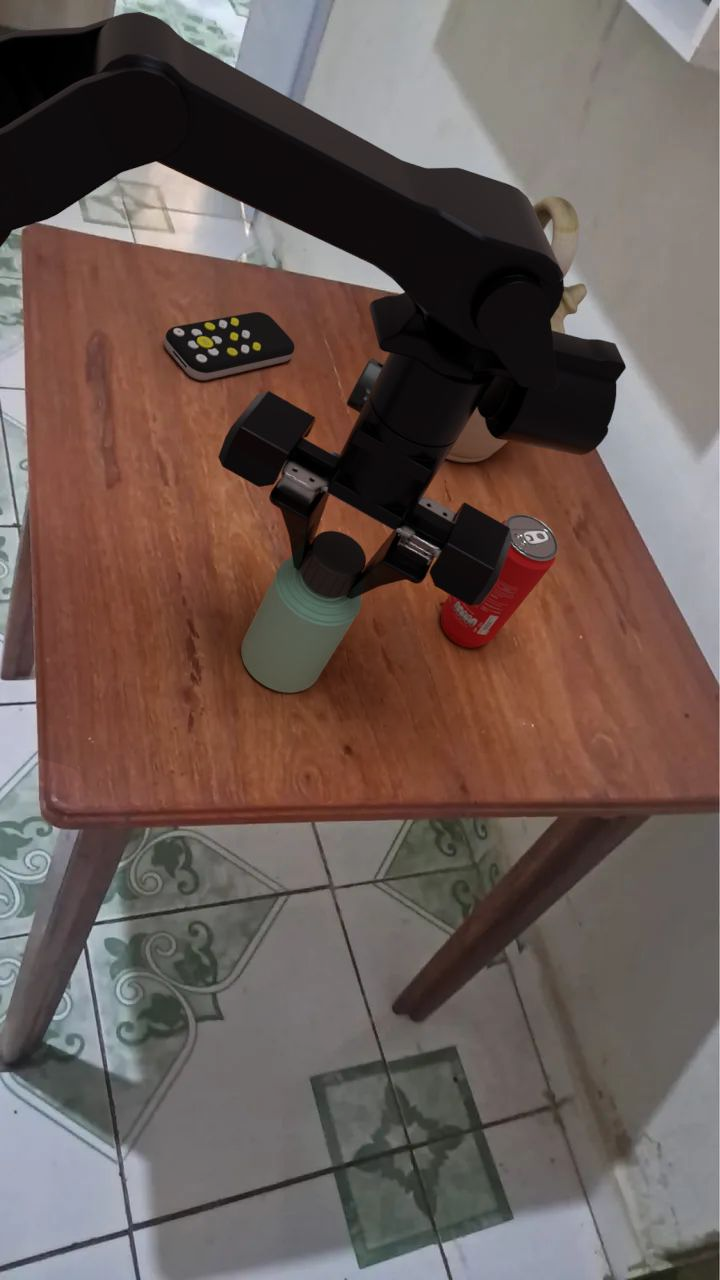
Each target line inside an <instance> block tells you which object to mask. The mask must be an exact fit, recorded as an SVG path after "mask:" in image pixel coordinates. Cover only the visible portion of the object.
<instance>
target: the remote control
mask: <svg viewBox="0 0 720 1280" xmlns="http://www.w3.org/2000/svg"><path fill="white" fill-rule="evenodd" d="M163 344H164V347H165V350H167V352H168V353H169V354H170V355H171V357H172V358H173V359H174V360H175V361H176V363H177V364H178V365H179V366H180V367H181V368H182V370H183V371H184V372H185V373H186V374H187V375H188V376H189V377H190V378H193V379H195V380H198V381H209V380H213V379H218V378H222V377H226V376H231V375H234V374H235V375H236V374H239V373H243V372H247V371H248V372H249V371H253V370H257V369H261V368H265V367H269V366H273V365H278V364H282V363H287V362H288V361H290V360H291V359H292V357H293V354H294V352H295V344H294V341H293V340H292V338H291V337H290V336H289V335H288V334H287V332H285V331H284V329H283V328H282V327H281V326H280V325H279V324H278V323H277V322H276V321H275V320H274V319H273V317H272V316H270V315H269V314H267V313H265V312H261V311H253V312H248V313H243V314H242V313H241V314H236V315H229V316H226V317H220V318H214V319H209V320H203V321H198V322H192V323H188V324H182V325H176V326H172V327H170V328H169V329H168V330H167V331H166V333H165V336H164V343H163Z"/></svg>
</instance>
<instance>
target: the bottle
mask: <svg viewBox="0 0 720 1280" xmlns="http://www.w3.org/2000/svg"><path fill="white" fill-rule="evenodd" d="M361 605H362V594H361V595H359V596H357V597H355V598H353V599H350V598H348V597H347V595H344V596H342V597H338V598H330V597H325V596H322V595H320V594H318V593H316V592H314V591H313V590H312V589H310V588H309V587H308V586H307V585H306V583H305V582H304V580H303V578H302V576H301V571H300V569H299V570H298V569H296V568H294V565H293V558H292V556H290V557H288V558H287V559H285V560H284V561H283V562H282V563H281V564H280V565H279V567H278V568H277V571H275V574H274V577H273V578H272V580H271V583H270V584H269V586H268V588H267V590H266V593H265V595H264V597H263V599H262V601H261V603H260V605H259V607H258V609H257V610H256V613H255V616H254V617H253V619H252V621H251V623H250V625H249V627H248V630H247V631H246V634H245V636H244V638H243V639H242V641H241V649H240V652H241V653H240V654H241V659H242V662H243V664H244V666H245V669H246V670H247V671H248V673H249V674H250V675H251V676H252V677H253V678H254V679H255V680H256V681H257V682H258V683H259V684H261V685H263V686H264V687H266V688H268V689H271V690H272V691H276V692H280V693H288V694H289V693H290V694H291V693H292V694H293V693H299V692H302V691H305V690H307V689H309V688H310V687H312V686H313V685H314V684H315V683H316V682H317V681H318V679H319V677H320V676H321V674H322V673H323V671H324V670H325V667H326V666H327V665H328V663H329V661H330V660H331V658H332V656H333V655H334V654H335V651H336V650H337V648H338V647H339V645H340V643H341V642H342V640H343V639H344V637H345V636H346V634H347V632H348V630H349V629H350V627H351V626H352V624H353V622H354V621H355V619H356V617H357V616H358V614H359V612H360V610H361V607H362V606H361Z"/></svg>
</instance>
